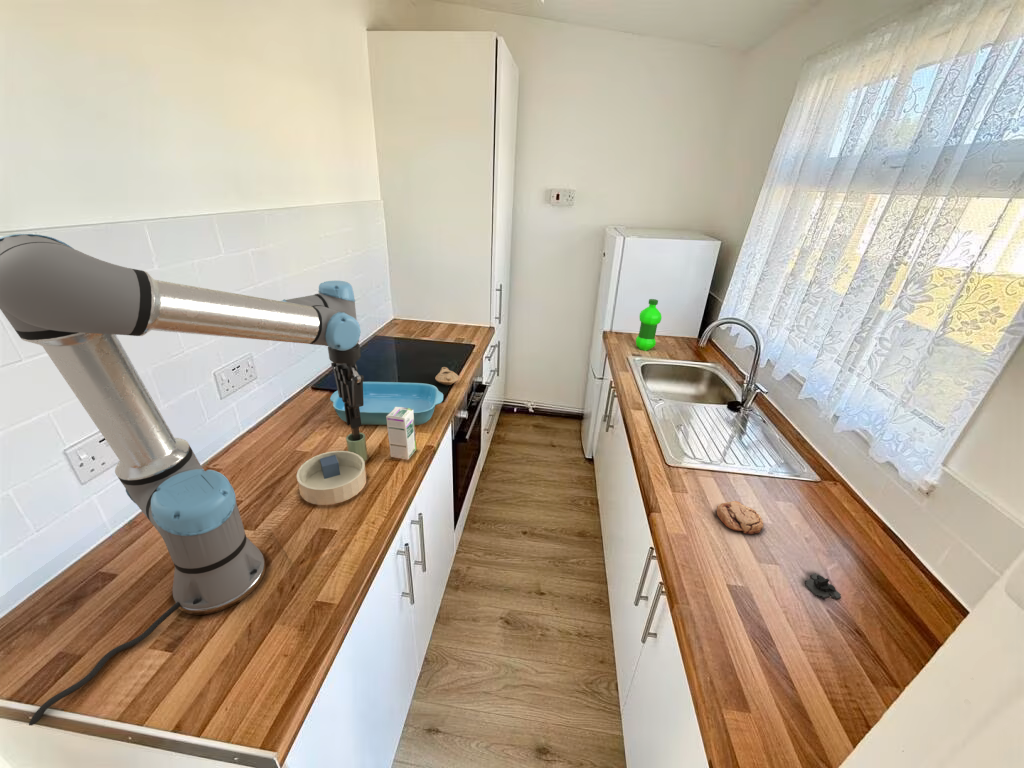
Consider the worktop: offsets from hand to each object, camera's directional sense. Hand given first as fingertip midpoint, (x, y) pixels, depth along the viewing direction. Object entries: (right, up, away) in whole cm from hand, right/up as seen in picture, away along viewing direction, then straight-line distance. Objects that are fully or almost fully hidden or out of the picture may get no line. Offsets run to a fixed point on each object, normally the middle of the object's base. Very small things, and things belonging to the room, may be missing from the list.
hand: (354, 424), depth 118 cm
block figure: (+109, -32, -27) cm, 116 cm away
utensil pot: (-1, -11, +5) cm, 12 cm away
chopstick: (0, -9, +5) cm, 10 cm away
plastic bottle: (+110, +29, +100) cm, 152 cm away
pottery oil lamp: (+17, +12, +54) cm, 58 cm away
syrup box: (+11, -10, +9) cm, 17 cm away
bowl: (-3, -16, -5) cm, 17 cm away
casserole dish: (+1, +1, +30) cm, 30 cm away
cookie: (+100, -23, -9) cm, 104 cm away
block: (-6, -13, -2) cm, 14 cm away
